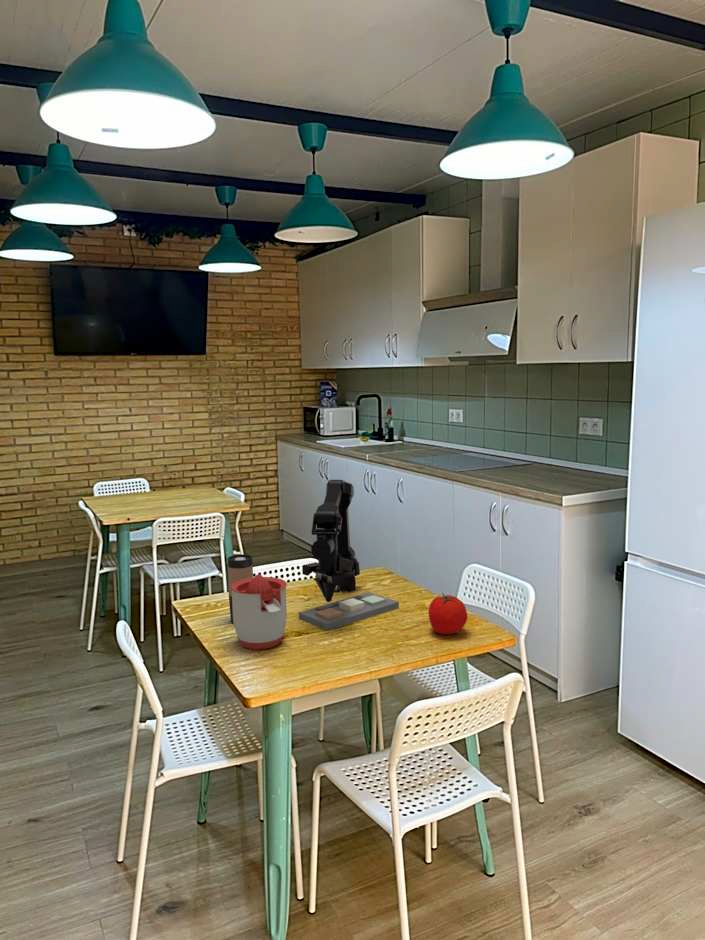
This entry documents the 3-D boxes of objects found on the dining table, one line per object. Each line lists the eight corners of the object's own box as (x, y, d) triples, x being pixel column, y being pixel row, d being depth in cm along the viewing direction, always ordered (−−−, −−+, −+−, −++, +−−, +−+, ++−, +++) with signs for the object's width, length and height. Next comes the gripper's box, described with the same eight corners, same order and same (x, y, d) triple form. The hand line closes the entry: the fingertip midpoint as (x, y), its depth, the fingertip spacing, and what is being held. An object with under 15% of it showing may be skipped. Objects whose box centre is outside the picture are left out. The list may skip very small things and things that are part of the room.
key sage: (360, 606, 226) (360, 598, 225) (373, 602, 229) (373, 595, 229) (372, 610, 221) (372, 603, 221) (385, 606, 225) (385, 599, 225)
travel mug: (259, 618, 220) (257, 555, 217) (246, 626, 213) (243, 561, 210) (239, 615, 223) (236, 553, 221) (224, 622, 216) (222, 559, 214)
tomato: (441, 622, 213) (441, 587, 212) (474, 630, 206) (475, 594, 205) (419, 634, 204) (418, 597, 203) (453, 643, 197) (453, 604, 196)
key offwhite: (339, 609, 220) (338, 602, 219) (352, 605, 223) (352, 598, 223) (350, 613, 215) (350, 606, 215) (364, 609, 219) (364, 602, 219)
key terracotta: (316, 619, 214) (316, 611, 214) (330, 615, 218) (330, 607, 217) (327, 624, 210) (327, 616, 209) (342, 619, 213) (342, 612, 213)
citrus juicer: (250, 660, 188) (247, 587, 185) (224, 640, 202) (221, 572, 200) (301, 646, 196) (299, 577, 194) (273, 628, 211) (270, 563, 208)
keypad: (298, 621, 216) (298, 611, 216) (369, 600, 235) (369, 591, 235) (327, 634, 206) (327, 623, 205) (398, 610, 224) (398, 600, 224)
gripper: (368, 551, 209) (369, 602, 211) (329, 541, 223) (330, 589, 225) (339, 558, 202) (340, 611, 204) (300, 547, 216) (301, 596, 218)
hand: (328, 601), depth 213 cm, fingers closed
